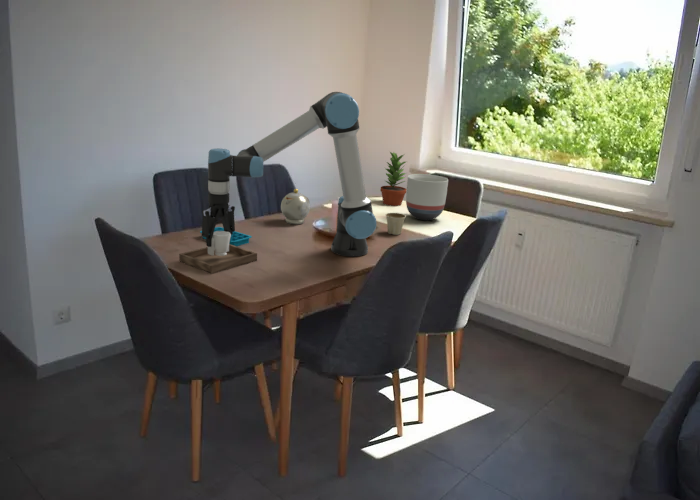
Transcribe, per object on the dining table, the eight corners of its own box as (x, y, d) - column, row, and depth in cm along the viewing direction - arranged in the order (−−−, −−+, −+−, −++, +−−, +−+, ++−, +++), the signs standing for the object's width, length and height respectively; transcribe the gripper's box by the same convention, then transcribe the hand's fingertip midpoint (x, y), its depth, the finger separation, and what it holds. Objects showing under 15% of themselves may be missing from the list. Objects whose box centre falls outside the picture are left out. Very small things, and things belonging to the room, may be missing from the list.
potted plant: (411, 205, 334) (416, 152, 325) (388, 207, 327) (393, 152, 318) (396, 199, 346) (400, 148, 337) (374, 201, 339) (378, 148, 330)
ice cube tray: (219, 233, 260) (219, 226, 259) (253, 243, 249) (253, 236, 248) (198, 238, 251) (198, 231, 250) (232, 249, 240) (232, 242, 239)
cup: (218, 258, 217) (218, 236, 215) (203, 250, 224) (203, 230, 222) (234, 255, 222) (234, 234, 220) (219, 248, 229) (219, 228, 226)
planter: (403, 212, 317) (406, 172, 311) (441, 215, 317) (446, 175, 310) (404, 222, 298) (408, 180, 291) (445, 225, 297) (450, 183, 291)
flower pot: (393, 237, 271) (395, 218, 269) (379, 231, 278) (381, 213, 275) (408, 234, 277) (410, 216, 274) (394, 229, 284) (396, 211, 281)
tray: (257, 260, 227) (257, 253, 226) (211, 274, 210) (211, 266, 209) (225, 249, 237) (225, 242, 237) (179, 261, 221) (179, 253, 220)
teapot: (296, 228, 274) (297, 193, 269) (273, 222, 281) (274, 188, 276) (319, 221, 289) (321, 188, 284) (297, 216, 296) (298, 183, 291)
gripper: (232, 187, 226) (231, 245, 232) (190, 193, 211) (190, 255, 217) (245, 190, 221) (244, 249, 228) (204, 197, 206) (204, 260, 213)
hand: (218, 252), depth 223 cm, fingers closed on cup, 6 cm apart
